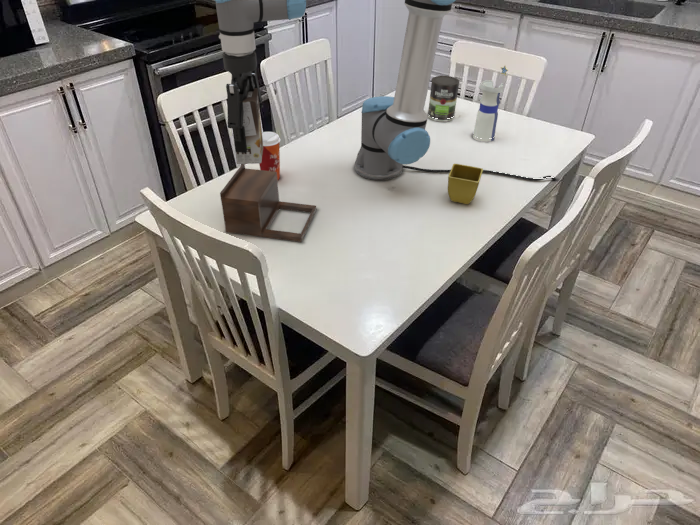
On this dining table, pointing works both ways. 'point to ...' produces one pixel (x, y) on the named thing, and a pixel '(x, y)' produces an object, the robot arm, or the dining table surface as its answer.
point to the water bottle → (488, 110)
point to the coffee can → (443, 98)
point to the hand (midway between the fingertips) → (249, 142)
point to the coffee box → (251, 130)
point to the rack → (257, 205)
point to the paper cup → (271, 153)
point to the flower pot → (463, 183)
